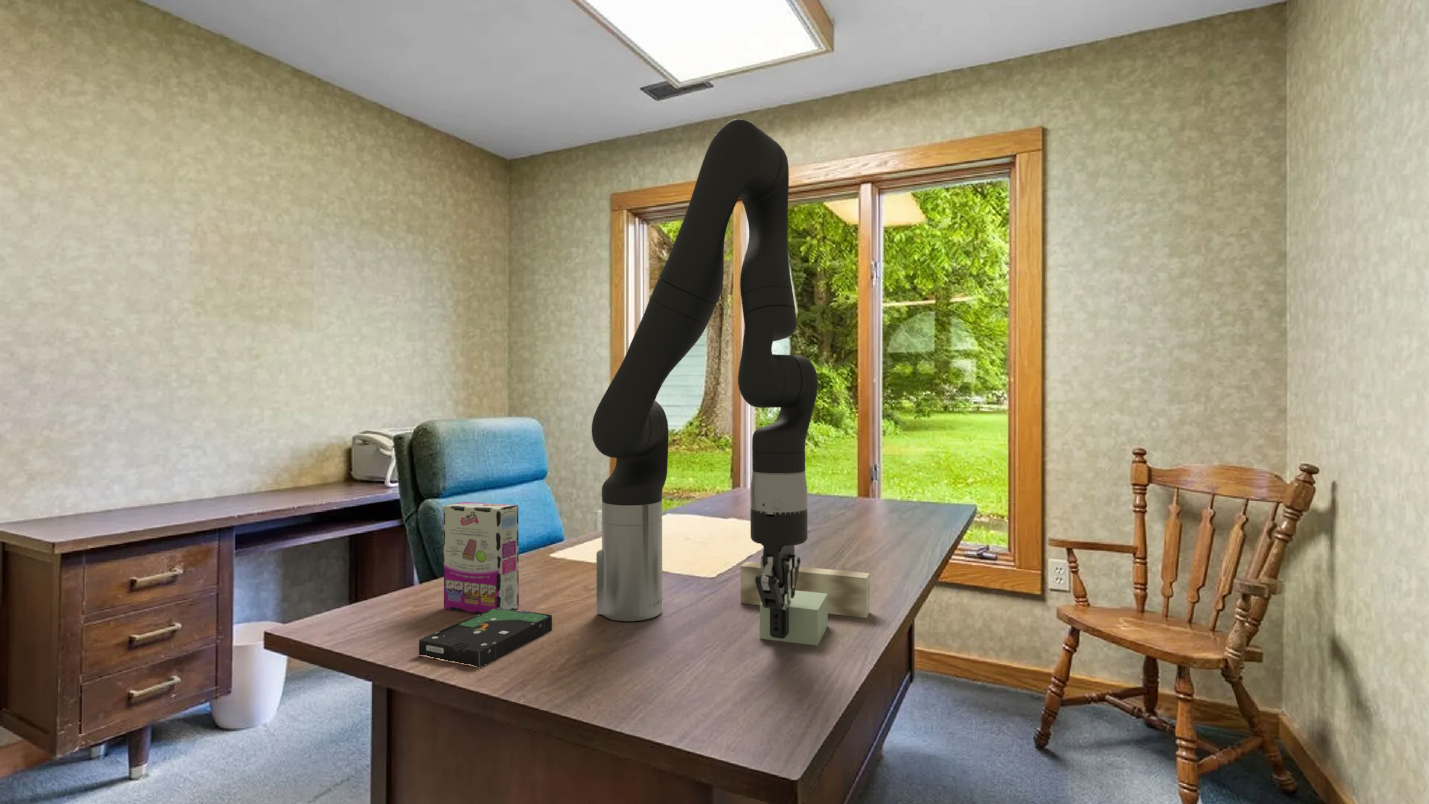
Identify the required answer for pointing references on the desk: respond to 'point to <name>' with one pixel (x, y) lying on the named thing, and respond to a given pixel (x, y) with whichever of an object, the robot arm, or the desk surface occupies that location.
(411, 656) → the desk surface
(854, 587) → the stop board
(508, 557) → the candy bar box
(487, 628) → the disk drive
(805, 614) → the sage block
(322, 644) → the desk surface
